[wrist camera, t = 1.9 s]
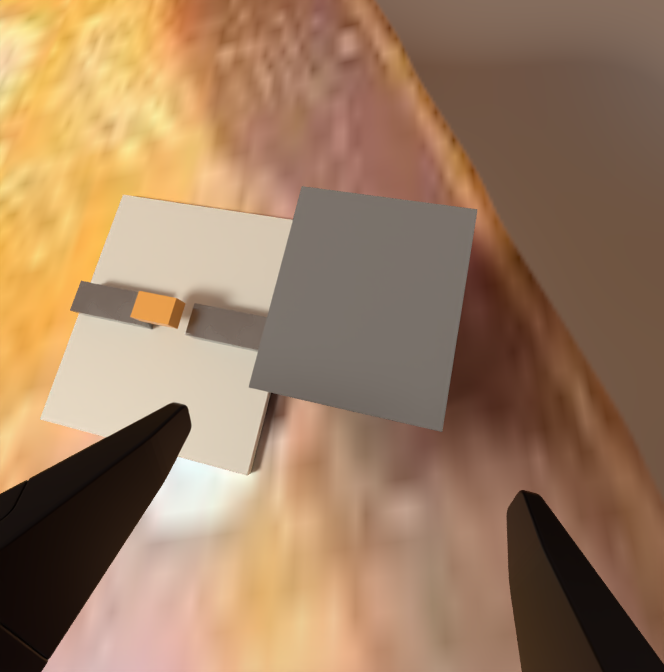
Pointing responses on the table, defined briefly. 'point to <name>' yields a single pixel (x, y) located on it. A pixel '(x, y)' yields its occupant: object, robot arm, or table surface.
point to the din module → (368, 306)
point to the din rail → (202, 322)
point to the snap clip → (158, 309)
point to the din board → (170, 343)
